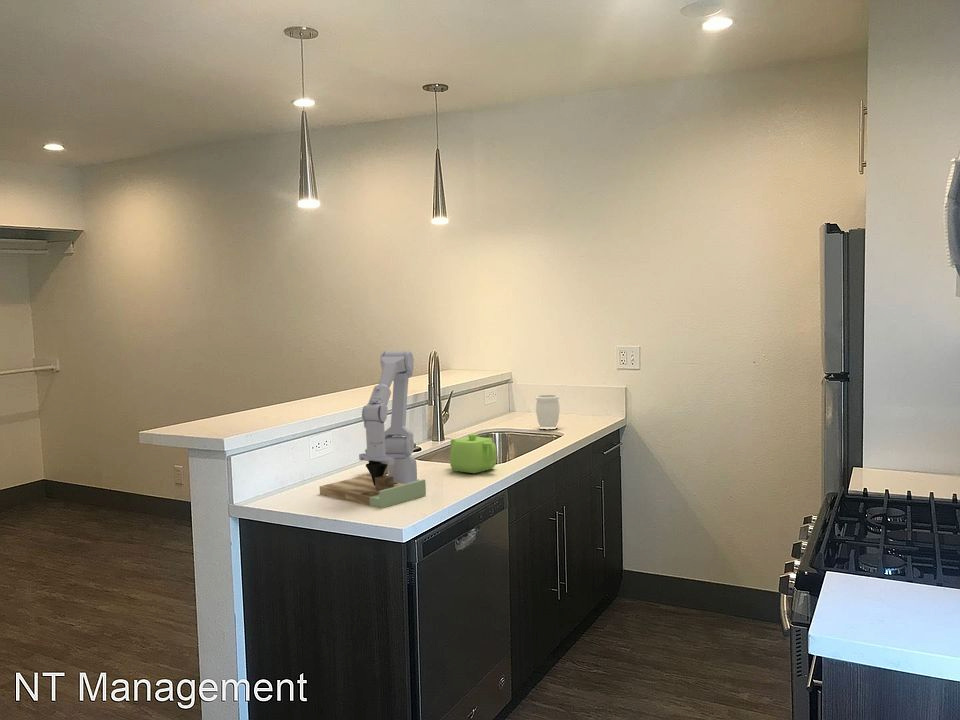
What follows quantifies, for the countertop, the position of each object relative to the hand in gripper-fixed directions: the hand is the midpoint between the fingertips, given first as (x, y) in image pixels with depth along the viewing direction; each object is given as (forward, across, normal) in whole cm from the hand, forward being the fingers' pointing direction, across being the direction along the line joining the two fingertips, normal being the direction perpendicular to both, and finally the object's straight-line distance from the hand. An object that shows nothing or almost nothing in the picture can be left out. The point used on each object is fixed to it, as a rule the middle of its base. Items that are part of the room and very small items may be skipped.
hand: (377, 485), depth 253 cm
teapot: (+4, 0, +46) cm, 46 cm away
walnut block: (+1, +3, 0) cm, 4 cm away
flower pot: (+4, -25, +22) cm, 33 cm away
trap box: (+3, -3, 0) cm, 4 cm away
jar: (+3, -30, +127) cm, 131 cm away
